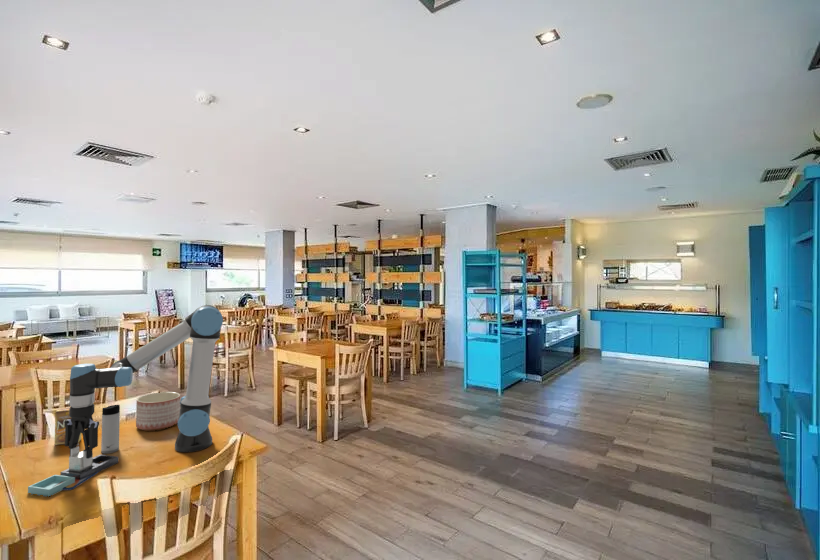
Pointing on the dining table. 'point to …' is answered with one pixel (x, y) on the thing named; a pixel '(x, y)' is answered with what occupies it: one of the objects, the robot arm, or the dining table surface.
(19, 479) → the dining table surface
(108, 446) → the travel mug
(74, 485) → the smartphone
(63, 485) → the tray
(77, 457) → the white rectangular block
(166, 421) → the planter
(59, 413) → the candy box
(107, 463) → the black divided organizer
